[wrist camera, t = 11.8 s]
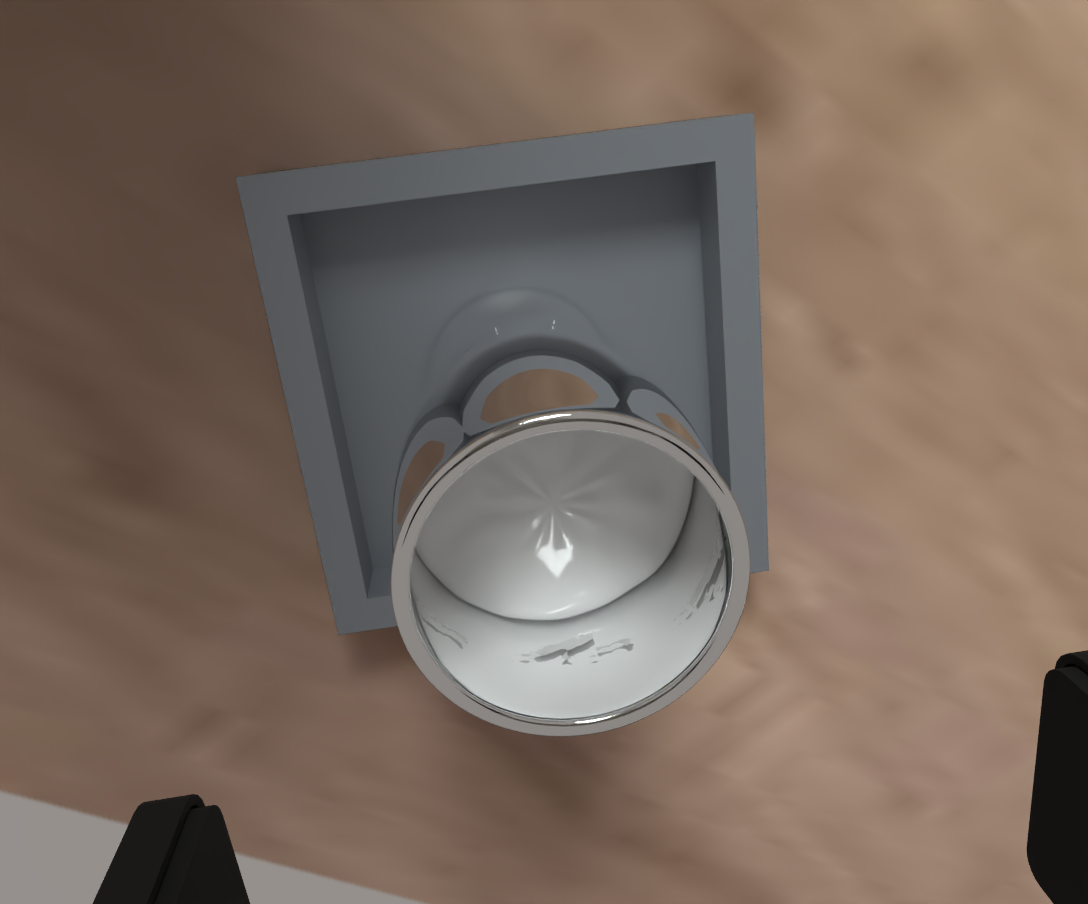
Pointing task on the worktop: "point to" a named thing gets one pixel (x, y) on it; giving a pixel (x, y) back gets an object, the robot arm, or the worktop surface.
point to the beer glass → (558, 527)
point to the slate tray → (496, 264)
